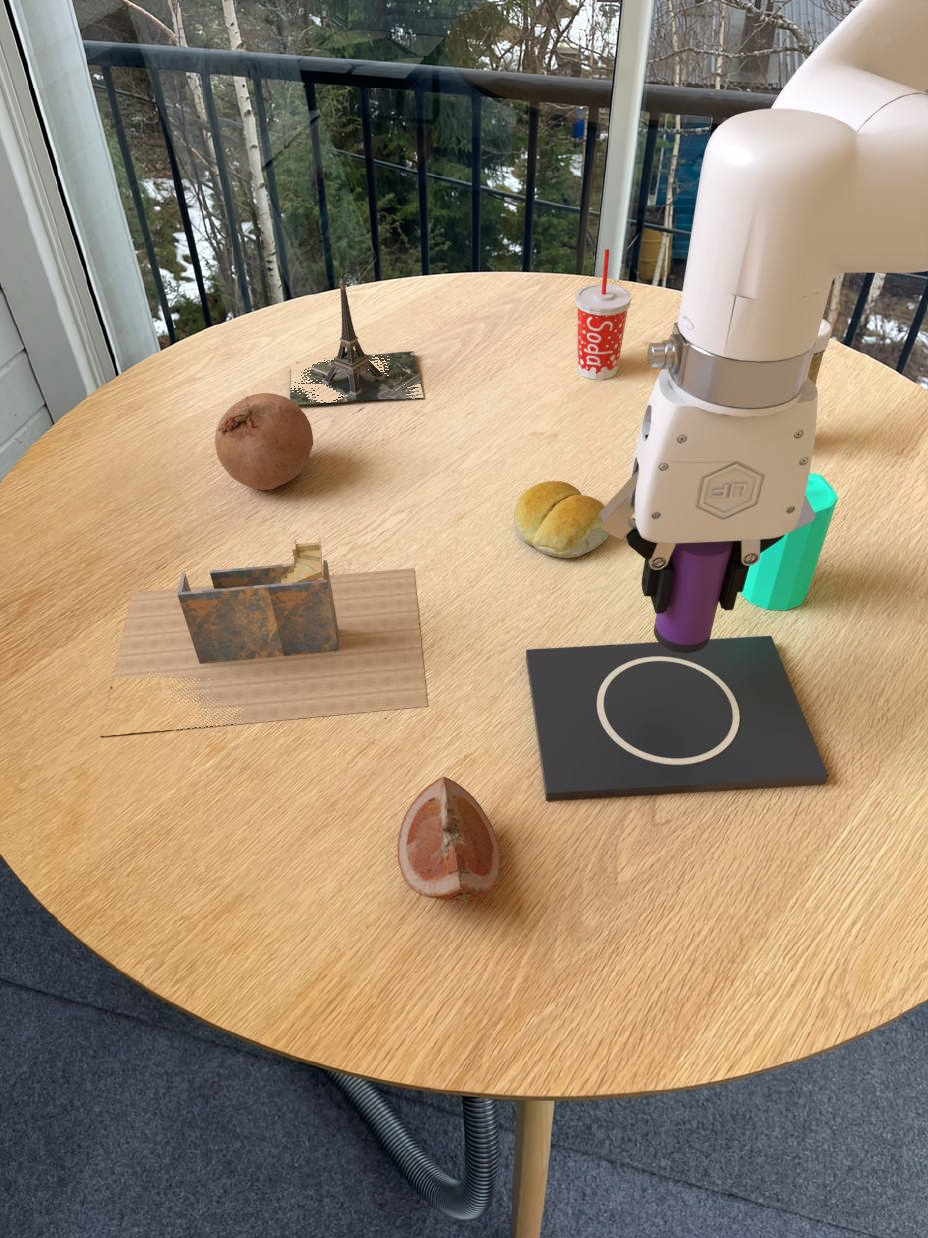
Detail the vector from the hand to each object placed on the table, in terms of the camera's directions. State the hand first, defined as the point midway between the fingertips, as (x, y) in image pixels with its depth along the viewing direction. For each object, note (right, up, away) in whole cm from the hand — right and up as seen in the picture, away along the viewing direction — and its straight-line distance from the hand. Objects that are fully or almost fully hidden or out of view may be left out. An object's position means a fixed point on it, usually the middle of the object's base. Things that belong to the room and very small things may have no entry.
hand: (689, 596), depth 65 cm
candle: (+11, +1, +16) cm, 20 cm away
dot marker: (0, -3, +3) cm, 4 cm away
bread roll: (-7, +7, +23) cm, 24 cm away
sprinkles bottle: (+17, +16, +32) cm, 39 cm away
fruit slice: (-17, -18, -3) cm, 25 cm away
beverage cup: (0, +27, +44) cm, 51 cm away
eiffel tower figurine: (-28, +26, +43) cm, 57 cm away
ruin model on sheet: (-32, -4, +13) cm, 35 cm away
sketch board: (0, -9, +6) cm, 11 cm away
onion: (-35, +13, +30) cm, 48 cm away
